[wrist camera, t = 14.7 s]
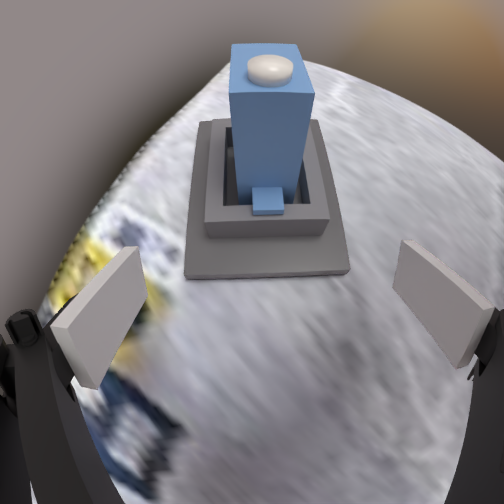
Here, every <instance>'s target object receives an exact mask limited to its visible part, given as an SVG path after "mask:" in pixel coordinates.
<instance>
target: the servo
mask: <svg viewBox="0 0 504 504" xmlns="http://www.w3.org/2000/svg"><path fill="white" fill-rule="evenodd" d="M314 96H315V92H314V89H313V87H312V84H311V81H310V78H309V76H308V73H307V70H306V68H305V65H304V62H303V60H302V57H301V55H300V53H299V50H298V48H297V45H296V44H268V43H266V44H265V43H263V44H262V43H261V44H259V43H258V44H232V50H231V64H230V80H229V102H230V114H231V125H232V136H233V147H234V158H235V169H236V179H237V190H238V201H239V205H253V215H275V214H284V204H293V201H294V197H295V192H296V187H297V183H298V178H299V173H300V168H301V163H302V158H303V153H304V148H305V143H306V138H307V133H308V128H309V123H310V118H311V112H312V107H313V101H314Z"/></svg>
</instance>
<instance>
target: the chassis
mask: <svg viewBox="0 0 504 504" xmlns="http://www.w3.org/2000/svg"><path fill="white" fill-rule="evenodd" d="M349 270H350V264H349V257H348V251H347V245H346V240H345V234H344V228H343V223H342V218H341V213H340V208H339V203H338V198H337V194H336V189H335V185H334V181H333V176H332V172H331V168H330V164H329V160H328V156H327V152H326V148H325V144H324V141H323V137H322V133H321V130H320V126H319V123H318V120H313V119H310V123H309V128H308V133H307V138H306V143H305V148H304V153H303V158H302V163H301V168H300V173H299V178H298V183H297V187H296V192H295V197H294V201H293V204H284V214H275V215H253V205H239V201H238V190H237V179H236V169H235V158H234V147H233V136H232V125H231V118H228V119H213V120H212V121H203V122H199V128H198V135H197V142H196V150H195V157H194V165H193V174H192V183H191V192H190V202H189V212H188V224H187V236H186V250H185V267H184V276H185V277H186V278H187V279H223V278H258V277H286V276H310V275H331V274H346V273H347V272H348V271H349Z"/></svg>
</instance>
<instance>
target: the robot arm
mask: <svg viewBox="0 0 504 504" xmlns="http://www.w3.org/2000/svg"><path fill="white" fill-rule="evenodd" d="M392 288H393V289H394V290H395V291H396V292H397V294H398V295H399V296H400V297H401V298H402V300H403V301H404V302H405V303H406V304H407V306H408V307H409V308H410V309H411V311H412V312H413V313H414V314H415V316H416V317H417V318H418V319H419V321H420V322H421V323H422V325H423V326H424V327H425V328H426V330H427V331H428V332H429V334H430V335H431V336H432V338H433V339H434V340H435V342H436V343H437V344H438V346H439V347H440V348H441V350H442V351H443V352H444V354H445V355H446V357H447V358H448V359H449V361H450V362H451V364H452V365H453V367H454V368H455V369H458V368H461V367H464V366H467V365H468V364H469V363H470V361H471V359H472V357H473V355H474V353H475V354H476V355H477V357H478V360H477V361H476V363H475V365H474V367H473V369H472V370H471V372H470V374H469V376H468V378H467V380H469V379H470V378H471V376H472V375H474V378H473V380H472V381H473V390H472V398H471V405H470V412H469V418H468V423H467V428H466V433H465V438H464V442H463V446H462V450H461V454H460V458H459V462H458V465H457V468H456V472H455V475H454V478H453V481H452V484H451V487H450V490H449V492H448V495H447V498H446V500H445V503H444V504H504V309H502V310H501V311H499V310H498V309H497V308H495V306H494V305H493V304H492V303H491V302H489V301H488V300H487V299H486V298H485V297H484V296H483V295H482V294H480V293H479V292H478V291H477V290H476V289H475V288H474V287H472V286H471V285H470V284H469V283H468V282H467V281H465V280H464V279H463V278H462V277H461V276H459V275H458V274H457V273H456V272H454V271H453V270H452V269H451V268H449V267H448V266H447V265H446V264H444V263H443V262H442V261H440V260H439V259H438V258H437V257H435V256H434V255H433V254H431V253H430V252H429V251H427V250H426V249H425V248H423V247H422V246H421V245H419V244H418V243H417V242H415V241H414V240H401V246H400V252H399V258H398V263H397V268H396V273H395V278H394V283H393V287H392ZM147 296H148V293H147V288H146V284H145V279H144V274H143V269H142V264H141V258H140V253H139V247H138V246H132V247H124V248H123V249H122V250H121V251H120V252H119V253H118V254H117V255H116V256H115V257H114V258H113V259H112V260H111V261H110V262H109V263H108V264H107V265H106V266H105V267H104V268H103V269H102V270H101V271H100V272H99V273H98V274H97V275H96V276H95V277H94V278H93V279H92V280H91V281H90V282H89V283H88V284H87V285H86V286H85V287H84V288H83V289H82V290H81V292H80V293H78V294H77V295H75V296H73V297H72V298H70V299H69V300H68V301H67V302H66V303H65V304H64V305H63V308H61V309H60V310H59V311H58V313H56V314H55V315H54V317H53V318H52V319H51V320H50V321H49V322H48V323H47V325H46V326H45V327H44V328H43V329H42V327H41V324H40V322H39V320H38V317H37V315H36V313H35V311H34V310H32V309H25V310H21V311H19V312H17V313H15V314H13V315H12V316H10V317H9V319H8V320H7V321H6V324H5V327H6V329H7V331H8V332H9V335H10V337H11V339H12V340H13V343H14V344H8V345H6V343H5V341H4V339H3V337H2V335H1V334H0V387H1V388H2V389H3V391H4V392H3V396H1V395H0V504H32V497H31V486H30V481H31V484H32V488H33V491H34V494H35V497H36V500H37V503H38V504H125V503H124V501H123V500H122V498H121V496H120V495H119V493H118V491H117V489H116V487H115V486H114V484H113V482H112V480H111V478H110V476H109V474H108V472H107V470H106V468H105V466H104V464H103V462H102V460H101V458H100V456H99V454H98V451H97V449H96V447H95V445H94V442H93V440H92V438H91V435H90V433H89V430H88V428H87V425H86V422H85V420H84V417H83V414H82V411H81V408H80V405H79V402H78V399H77V396H76V393H75V390H74V388H73V386H72V384H71V383H70V382H71V380H72V378H73V377H74V375H75V377H76V379H77V381H78V382H79V384H80V386H82V387H86V388H90V389H95V390H98V388H99V386H100V384H101V382H102V380H103V378H104V376H105V374H106V372H107V370H108V368H109V366H110V364H111V362H112V360H113V358H114V356H115V354H116V352H117V350H118V348H119V347H120V345H121V343H122V341H123V339H124V337H125V335H126V334H127V332H128V330H129V328H130V326H131V324H132V323H133V321H134V319H135V317H136V316H137V314H138V312H139V310H140V309H141V307H142V305H143V303H144V302H145V300H146V298H147Z"/></svg>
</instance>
